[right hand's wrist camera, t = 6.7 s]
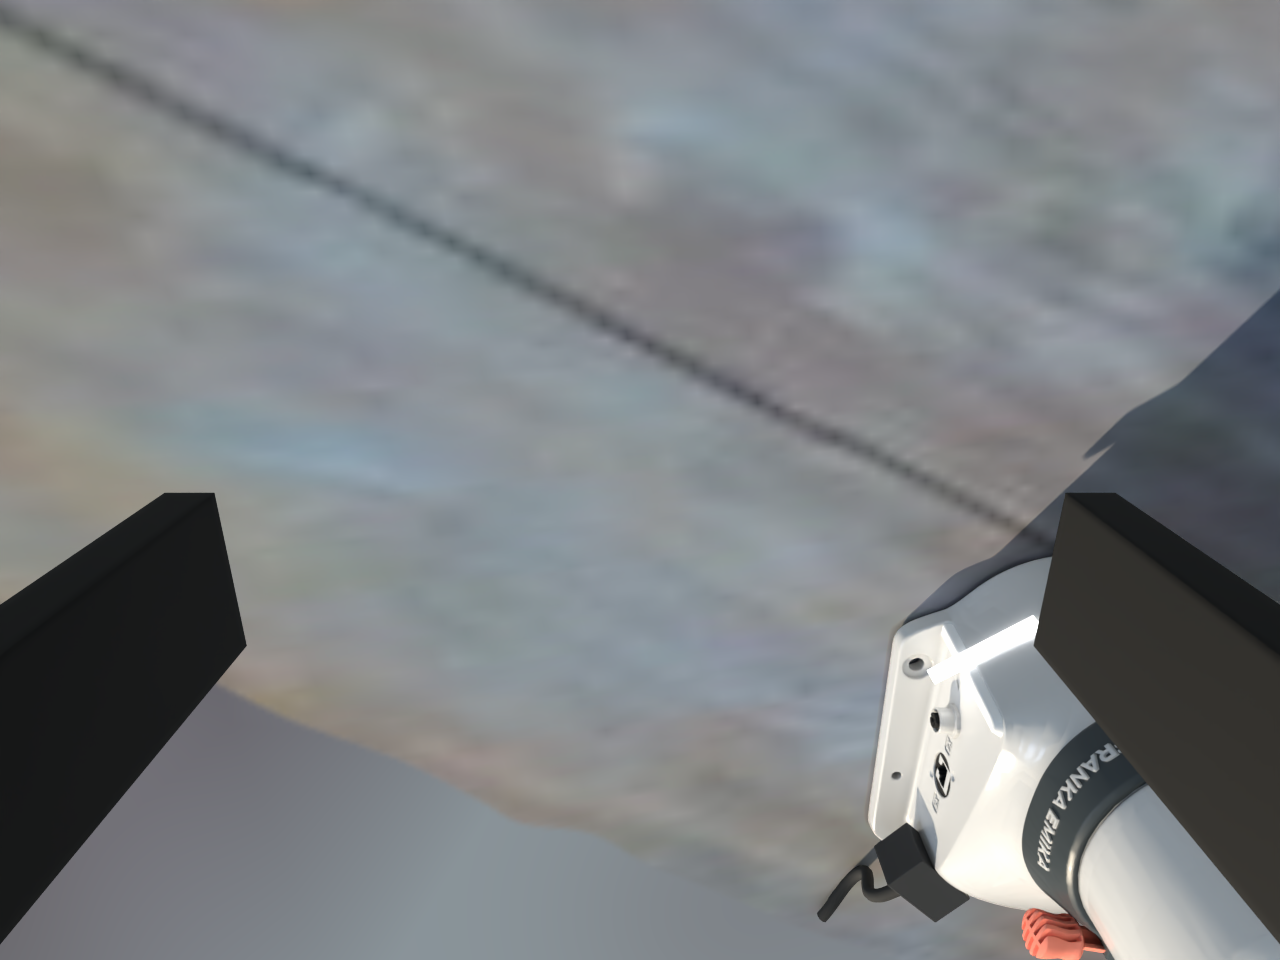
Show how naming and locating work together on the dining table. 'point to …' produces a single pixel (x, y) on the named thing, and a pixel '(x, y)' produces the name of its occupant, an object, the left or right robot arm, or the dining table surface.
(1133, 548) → the right robot arm
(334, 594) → the dining table surface
